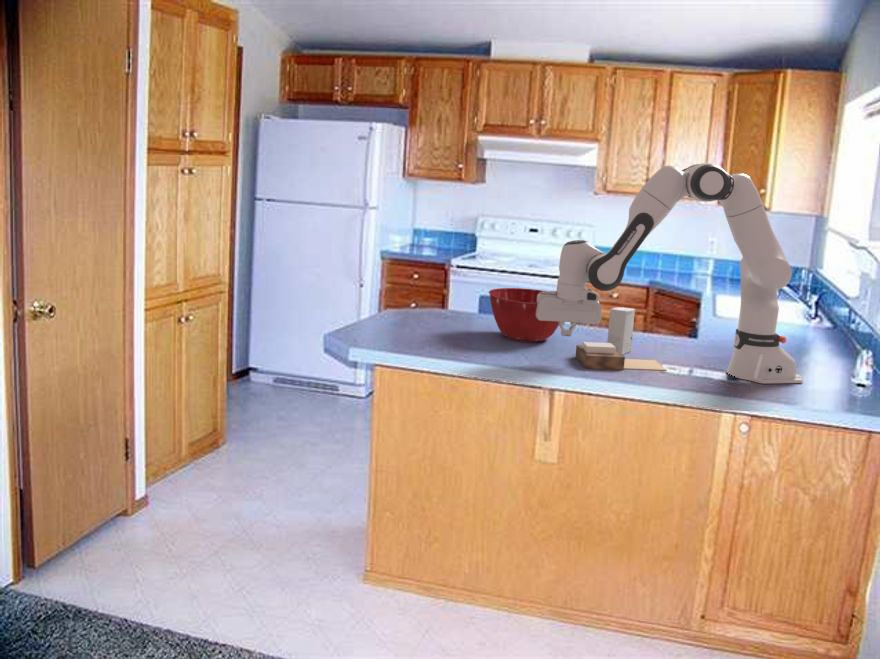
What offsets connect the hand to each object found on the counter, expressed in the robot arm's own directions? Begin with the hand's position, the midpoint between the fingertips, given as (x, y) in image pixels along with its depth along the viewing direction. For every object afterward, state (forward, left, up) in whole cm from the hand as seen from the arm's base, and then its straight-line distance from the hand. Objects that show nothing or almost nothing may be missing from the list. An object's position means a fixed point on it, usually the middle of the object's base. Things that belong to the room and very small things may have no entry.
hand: (566, 335), depth 274 cm
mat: (-24, 0, -8) cm, 26 cm away
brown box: (-11, 0, -8) cm, 14 cm away
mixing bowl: (+7, -32, -9) cm, 34 cm away
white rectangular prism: (-11, 0, -4) cm, 12 cm away
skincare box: (-22, -17, -9) cm, 29 cm away
